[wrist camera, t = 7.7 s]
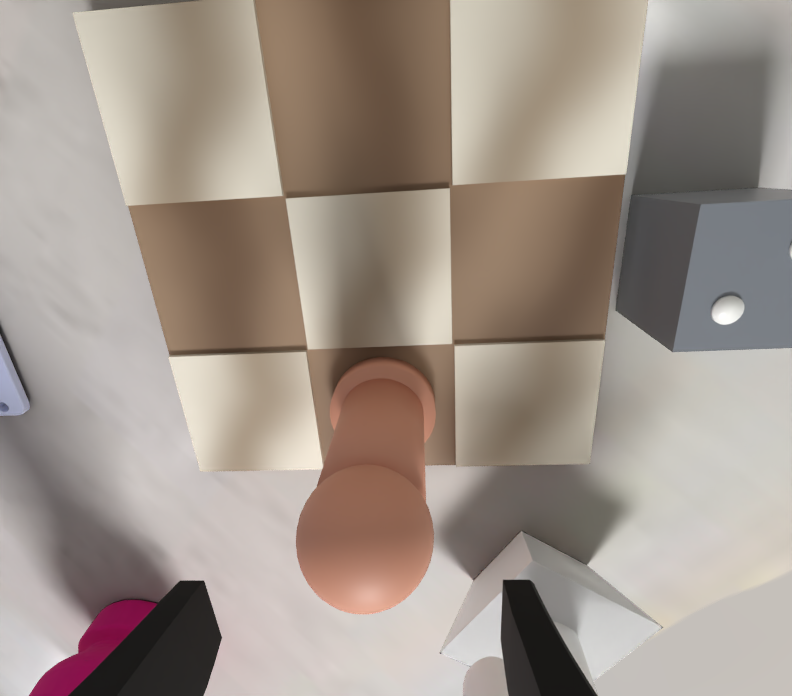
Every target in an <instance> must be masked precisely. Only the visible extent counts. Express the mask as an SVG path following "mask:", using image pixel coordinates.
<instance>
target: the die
mask: <svg viewBox="0 0 792 696" xmlns="http://www.w3.org/2000/svg"><path fill="white" fill-rule="evenodd" d="M616 311H617V312H619V313H620V314H621V315H623V316H624V317H625V318H627V319H628V320H629V321H631V322H632V323H634V324H635V325H636V326H638V327H639V328H640V329H642V330H643V331H645V332H646V333H647V334H649V335H650V336H651V337H653V338H654V339H655V340H657V341H658V342H660V343H661V344H662V345H664V346H665V347H666V348H668V349H669V350H671V351H672V352H688V351H716V350H745V349H773V348H792V190H787V189H771V188H745V189H728V190H711V191H694V192H677V193H660V194H643V195H631V199H630V207H629V214H628V222H627V229H626V237H625V244H624V252H623V259H622V267H621V275H620V282H619V290H618V297H617V305H616Z"/></svg>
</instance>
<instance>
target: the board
mask: <svg viewBox="0 0 792 696" xmlns="http://www.w3.org/2000/svg"><path fill="white" fill-rule="evenodd" d="M647 6H648V0H199V1H189V2H178V3H168V4H157V5H147V6H136V7H126V8H115V9H105V10H95V11H84V12H74V13H72V14H73V17H74V21H75V25H76V28H77V32H78V35H79V39H80V42H81V46H82V50H83V53H84V57H85V60H86V64H87V68H88V71H89V75H90V78H91V82H92V85H93V89H94V93H95V96H96V100H97V103H98V107H99V110H100V114H101V118H102V121H103V125H104V128H105V132H106V136H107V139H108V143H109V146H110V150H111V153H112V157H113V161H114V164H115V168H116V171H117V175H118V179H119V182H120V186H121V189H122V193H123V196H124V200H125V204H126V206H128V207H129V210H130V214H131V218H132V221H133V225H134V228H135V232H136V236H137V239H138V243H139V246H140V250H141V254H142V257H143V261H144V264H145V268H146V272H147V275H148V279H149V282H150V286H151V290H152V293H153V297H154V301H155V304H156V308H157V311H158V315H159V319H160V322H161V326H162V329H163V333H164V337H165V340H166V344H167V347H168V351H169V355H170V356H169V357H168V358H169V361H170V365H171V368H172V372H173V376H174V379H175V383H176V386H177V390H178V393H179V397H180V401H181V404H182V408H183V411H184V415H185V419H186V422H187V426H188V429H189V433H190V436H191V440H192V444H193V447H194V451H195V454H196V458H197V462H198V465H199V469H200V472H209V471H260V470H311V469H323V466H324V462H325V459H326V456H327V453H328V450H329V446H330V443H331V440H332V437H333V434H334V429H333V426H332V424H331V420H330V403H331V399H332V397H333V394H334V391H335V388H336V386H337V384H338V381H339V380H340V378H341V377H342V375H343V374H344V373H345V372H346V371H347V370H348V369H349V368H350V367H352V366H353V365H355V364H357V363H359V362H361V361H363V360H366V359H370V358H375V357H390V358H396V359H399V360H402V361H405V362H407V363H409V364H411V365H413V366H414V367H416V368H417V369H418V370H419V371H420V372H421V373H423V375H424V376H425V377H426V378H427V380H428V381H429V383H430V385H431V387H432V389H433V393H434V397H435V409H436V420H435V426H434V428H433V431H432V433H431V435H430V437H429V438H428V440H427V441H426V442H425V443H424V448H425V465H456V467H464V466H515V465H565V464H590V458H591V450H592V442H593V434H594V426H595V418H596V410H597V402H598V395H599V387H600V379H601V371H602V363H603V355H604V347H605V332H606V324H607V316H608V308H609V300H610V292H611V284H612V276H613V268H614V260H615V252H616V244H617V236H618V228H619V220H620V212H621V204H622V196H623V188H624V180H625V174H626V172H627V164H628V156H629V148H630V141H631V133H632V125H633V117H634V109H635V101H636V93H637V85H638V77H639V69H640V61H641V53H642V45H643V37H644V29H645V21H646V14H647Z"/></svg>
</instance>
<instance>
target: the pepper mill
mask: <svg viewBox="0 0 792 696" xmlns="http://www.w3.org/2000/svg"><path fill="white" fill-rule="evenodd" d="M156 605H157V603H153V602H148V601H143V600H123V601H119V602H115V603H112V604H111V605H109V606H107V607H105V608H104V609H103V610H102V611H101V612H100V613H99V614H98V615H97V617H96V618H95V620H94V621H93V622H92V624H91V625H90V627H89V628H88V629H87V631H86V632H85V634H84V635H83V636H82V638H81V639H80V642H79V645H78V654H76V655H73V656H71V657H69V658H67V659H65V660H63V661H61V662H59V663H58V664H56V665H55V666H54V667H52V668H51V669H50V670H49V671H47V672H46V673H45V674H44V675H43V676H42V677H41V679H40V680H39V681H38V682H37V684H36V686H35V687H34V689H33V690H32V692H31V693H30V695H29V696H68V695H69V694H70V693H71V692H72V691H73V690H74V689H75V688H76V687H77V686H78V685H79V684H80V683H81V682H82V681H83V680H84V679H85V678H86V677H87V676H88V675H89V674H90V673H91V672H92V671H93V670H94V669H95V668H96V667H97V666H98V665H99V664H100V663H101V662H102V661H103V660H104V659H105V658H106V657H107V656H108V655H109V654H110V653H111V652H112V651H113V650H114V649H115V648H116V647H117V646H118V645H119V644H120V643H121V642H122V641H123V640H124V639H125V638H126V637H127V636H128V635H129V633H130V632H131V631H132V630H133V629H134V628H135V627H136V626H137V625H138V624H139V623H140V622H141V621H142V620H143V619H144V618H145V617H146V616H147V615H148V614H149V612H150V611H151V610H152V609H153V608H154V607H155V606H156Z"/></svg>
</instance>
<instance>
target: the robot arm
mask: <svg viewBox="0 0 792 696" xmlns="http://www.w3.org/2000/svg"><path fill="white" fill-rule="evenodd" d="M6 404H7V405H6ZM29 408H30V404H29V401H28V399H27V396H26V394H25V391H24V389H23V387H22V384H21V382H20V380H19V377H18V375H17V373H16V370H15V368H14V366H13V363H12V361H11V359H10V356H9V354H8V352H7V349H6V347H5V345H4V342H3V340H2V338H1V335H0V416H14V415H22V414H23V413H25V412H26V411H28V410H29ZM221 639H222V637H221V633H220V630H219V627H218V624H217V621H216V617H215V614H214V611H213V608H212V605H211V601H210V598H209V595H208V592H207V589H206V585H205V582H204V581H179V582H178V583H177V584H176V585H175V587H174V588H173V589H172V590H171V591H170V592H169V593H168V594H167V595H166V596H165V597H164V598H163V599H162V600H161V601H160V602H159V603H158V604H157V605H156V606H155V607H154V608H153V609H152V610H151V611H150V612H149V614H148V615H147V616H146V617H145V618H144V619H143V620H142V621H141V622H140V623H139V624H138V625H137V626H136V627H135V628H134V629H133V630H132V631H131V632H130V633H129V635H128V636H127V637H126V638H125V639H124V640H123V641H122V642H121V643H120V644H119V645H118V646H117V647H116V648H115V649H114V650H113V651H112V652H111V653H110V654H109V655H108V656H107V657H106V658H105V659H104V660H103V661H102V662H101V663H100V664H99V665H98V666H97V667H96V668H95V669H94V670H93V671H92V672H91V673H90V674H89V675H88V676H87V677H86V678H85V679H84V680H83V681H82V682H81V683H80V684H79V685H78V686H77V687H76V688H75V689H74V690H73V691H72V692H71V693H70V694H69V695H68V696H203V695H204V693H205V690H206V688H207V685H208V682H209V679H210V675H211V672H212V669H213V666H214V663H215V659H216V656H217V652H218V649H219V646H220V642H221ZM501 647H502V654H503V661H504V669H505V676H506V683H507V690H508V695H509V696H597V694H596V693H595V691H594V689H593V688H592V686H591V685H590V683H589V681H588V680H587V678H586V677H585V675H584V673H583V672H582V670H581V668H580V667H579V665H578V664H577V662H576V660H575V659H574V657H573V655H572V654H571V652H570V650H569V649H568V647H567V645H566V644H565V642H564V640H563V638H562V637H561V635H560V633H559V631H558V629H557V628H556V626H555V624H554V622H553V620H552V619H551V617H550V615H549V613H548V611H547V609H546V607H545V605H544V603H543V601H542V599H541V597H540V595H539V593H538V591H537V589H536V587H535V584H534V583H533V582H532V581H531V580H503V589H502V614H501Z"/></svg>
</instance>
